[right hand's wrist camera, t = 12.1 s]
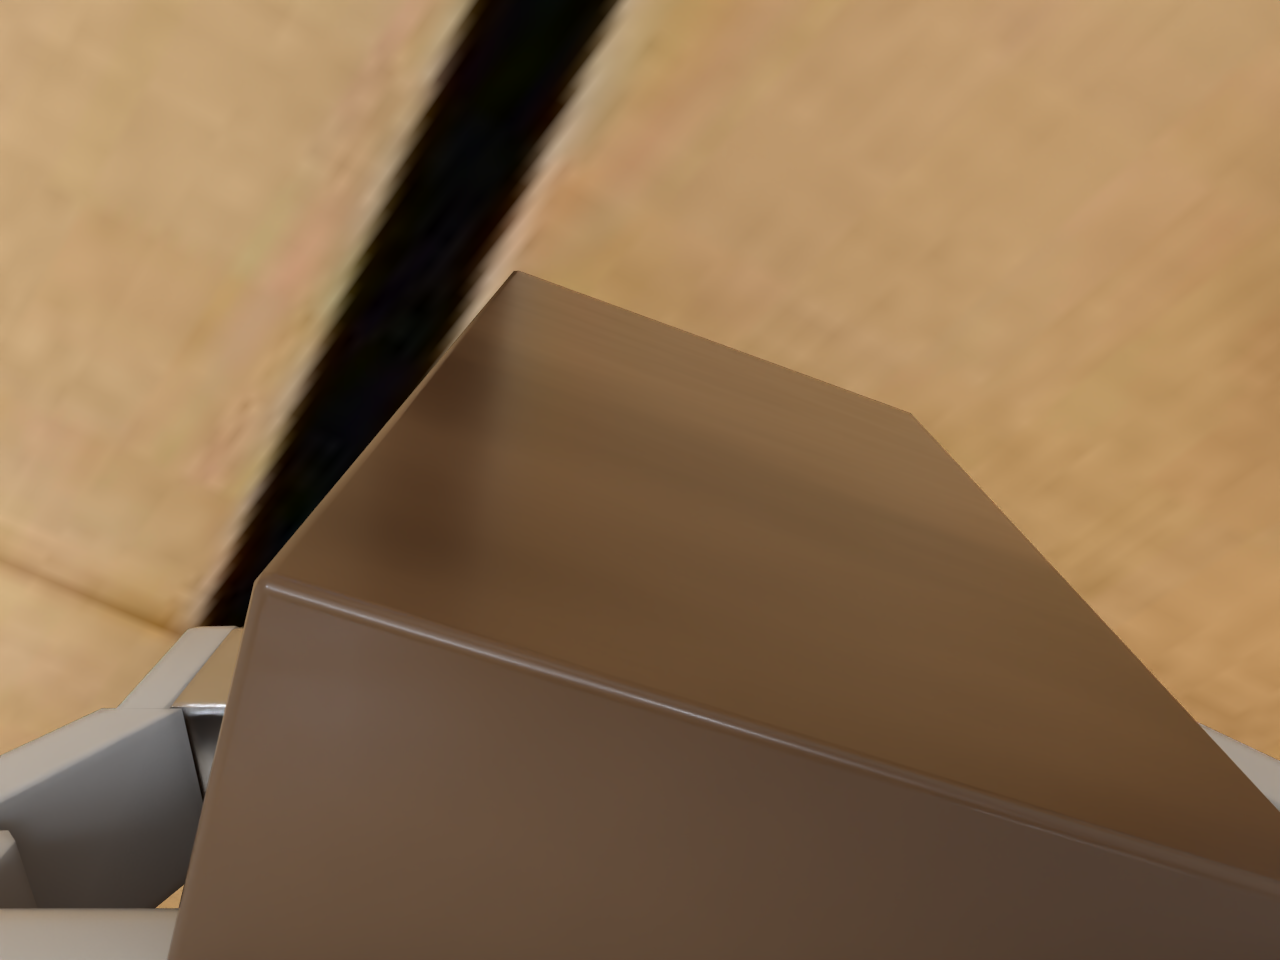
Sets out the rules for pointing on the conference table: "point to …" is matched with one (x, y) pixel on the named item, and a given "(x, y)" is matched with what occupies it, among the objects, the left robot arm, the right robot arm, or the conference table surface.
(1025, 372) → the conference table surface
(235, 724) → the box
